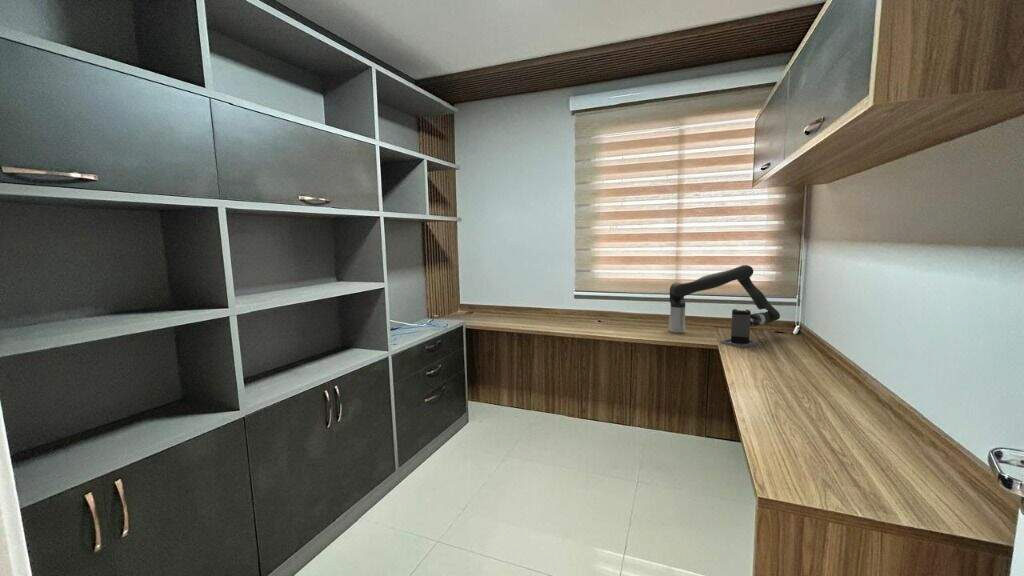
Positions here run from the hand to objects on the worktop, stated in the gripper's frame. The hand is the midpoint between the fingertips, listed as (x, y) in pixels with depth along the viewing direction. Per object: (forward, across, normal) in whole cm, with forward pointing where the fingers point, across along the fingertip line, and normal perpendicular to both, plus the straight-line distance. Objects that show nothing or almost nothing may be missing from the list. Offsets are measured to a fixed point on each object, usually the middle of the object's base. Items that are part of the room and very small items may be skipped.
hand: (739, 322), depth 233 cm
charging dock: (0, 0, +13) cm, 13 cm away
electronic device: (0, 0, +12) cm, 13 cm away
